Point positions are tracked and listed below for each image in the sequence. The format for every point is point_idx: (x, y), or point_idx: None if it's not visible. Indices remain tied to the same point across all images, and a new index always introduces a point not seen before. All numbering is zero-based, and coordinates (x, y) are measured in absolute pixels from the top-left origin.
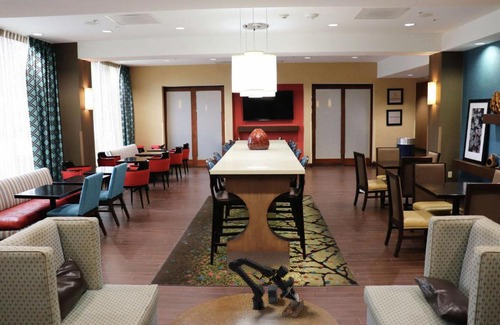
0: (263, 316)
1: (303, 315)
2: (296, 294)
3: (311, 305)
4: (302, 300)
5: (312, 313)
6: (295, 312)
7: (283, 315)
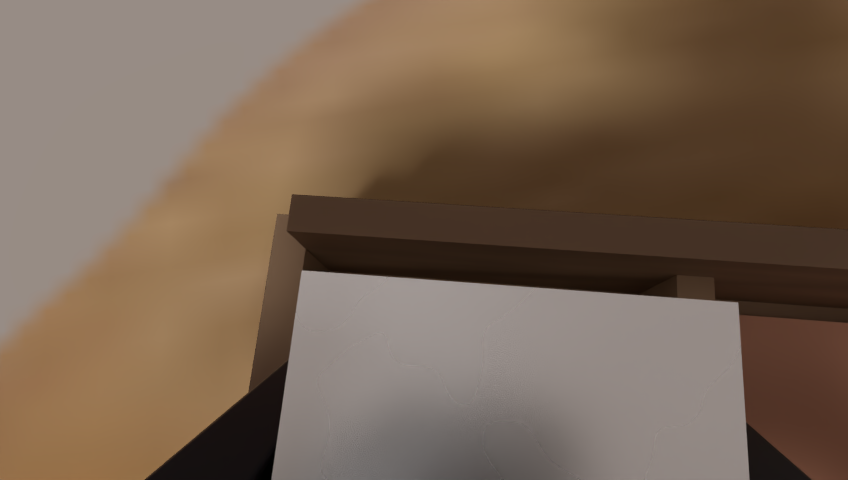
0: None
1: (794, 182)
2: (406, 368)
3: (253, 107)
4: (318, 213)
5: (653, 27)
6: (782, 375)
7: None
